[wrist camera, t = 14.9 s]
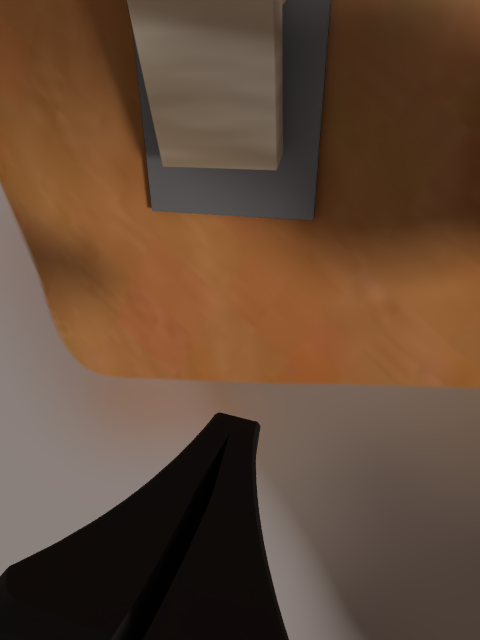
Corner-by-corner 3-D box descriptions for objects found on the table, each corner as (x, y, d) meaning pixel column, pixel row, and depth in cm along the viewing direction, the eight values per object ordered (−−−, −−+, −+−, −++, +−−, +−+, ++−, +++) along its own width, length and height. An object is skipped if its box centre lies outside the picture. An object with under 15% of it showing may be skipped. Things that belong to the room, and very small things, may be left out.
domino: (175, 150, 19) (110, -191, 12) (283, 153, 18) (280, -222, 11) (162, 166, 18) (83, -199, 11) (276, 170, 17) (269, -233, 10)
